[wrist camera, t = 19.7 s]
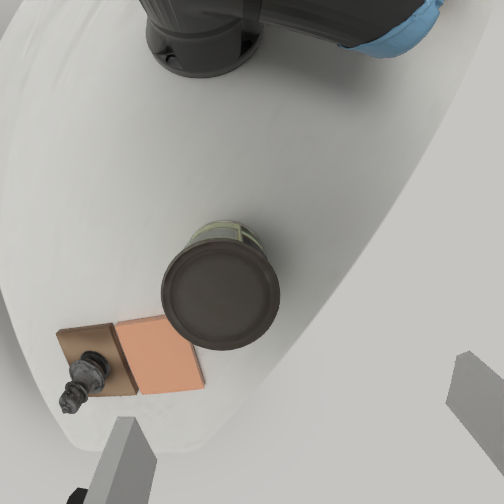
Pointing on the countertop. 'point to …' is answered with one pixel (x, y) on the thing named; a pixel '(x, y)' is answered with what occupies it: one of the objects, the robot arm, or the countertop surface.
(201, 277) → the coffee can
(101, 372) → the dark chess piece
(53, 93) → the countertop surface
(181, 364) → the taller pad
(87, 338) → the shorter pad
